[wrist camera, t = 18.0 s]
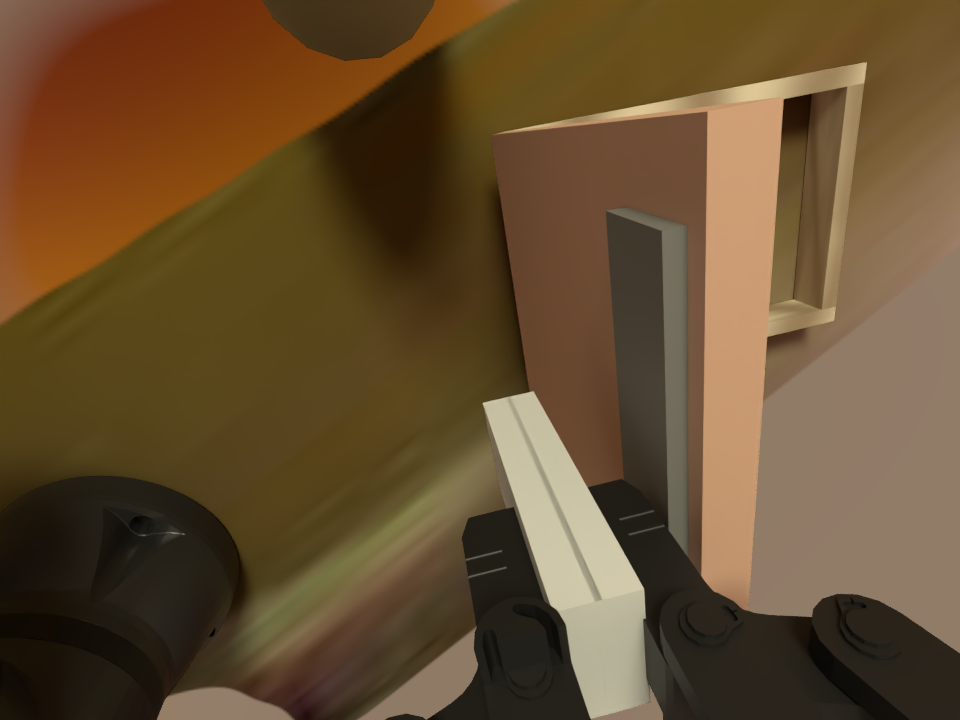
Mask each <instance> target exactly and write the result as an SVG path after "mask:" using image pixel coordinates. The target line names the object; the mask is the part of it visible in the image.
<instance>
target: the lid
mask: <svg viewBox="0 0 960 720" xmlns="http://www.w3.org/2000/svg"><path fill="white" fill-rule="evenodd" d="M783 101H784V97H778V98H770V99H762V100H754V101H746V102H738V103H730V104H722V105H714V106H706V107H699V108H691V109H683V110H675V111H667V112H659V113H651V114H643V115H635V116H627V117H619V118H611V119H603V120H595V121H587V122H580V123H572V124H564V125H556V126H548V127H540V128H532V129H524V130H516V131H509V132H504V133H499V134H493V135H491V140H492V146H493V153H494V160H495V166H496V173H497V180H498V186H499V193H500V199H501V206H502V213H503V219H504V226H505V233H506V239H507V246H508V252H509V259H510V266H511V272H512V279H513V286H514V292H515V299H516V305H517V312H518V319H519V325H520V332H521V339H522V345H523V352H524V358H525V365H526V372H527V378H528V385H529V392H533V391H534V393H535V395H536V397H537V398H538V400H539V402H540V404H541V406H542V407H543V409H544V411H545V413H546V415H547V416H548V418H549V420H550V422H551V423H552V425H553V427H554V429H555V431H556V432H557V434H558V436H559V438H560V440H561V441H562V443H563V445H564V447H565V448H566V450H567V452H568V454H569V456H570V457H571V459H572V461H573V463H574V465H575V466H576V468H577V470H578V472H579V473H580V475H581V477H582V479H583V481H584V482H585V484H586V486H587V487H590V486H595V485H599V484H603V483H607V482H611V481H615V480H619V479H623V480H624V481H626V482H627V483H629V484H630V485H632V486H634V487H635V488H637V489H638V490H640V491H641V492H642V493H643V495H644V496H645V497H646V499H647V500H648V502H649V503H650V504H651V506H652V507H653V509H654V512H655V513H657V514H658V516H659V517H660V519H661V520H662V521H663V523H664V526H665V528H666V527H667V528H668V530H669V531H670V533H671V534H672V535H673V537H674V538H675V540H676V541H677V542H678V544H679V545H680V547H681V548H682V550H683V551H684V552H685V554H686V555H687V557H688V558H689V559H690V561H691V562H692V564H693V565H694V566H695V568H696V569H697V571H698V572H699V573H700V575H701V576H702V578H703V579H704V581H705V582H706V583H707V584H708V586H709V587H710V588H711V589H712V590H713V591H714V592H717V593H719V594H721V595H723V596H725V597H727V598H729V599H731V600H732V601H734V602H735V603H736V604H737V605H738V606H739V607H740V608H741V609H744V610H747V611H748V606H749V592H750V577H751V563H752V549H753V534H754V519H755V505H756V491H757V476H758V462H759V447H760V432H761V418H762V404H763V390H764V375H765V361H766V347H767V332H768V318H769V303H770V289H771V274H772V260H773V246H774V231H775V217H776V202H777V188H778V174H779V159H780V145H781V130H782V116H783Z"/></svg>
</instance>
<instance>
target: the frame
mask: <svg viewBox="0 0 960 720" xmlns="http://www.w3.org/2000/svg"><path fill="white" fill-rule="evenodd" d="M866 64H867V62H866V63H860V64H855V65H849V66H844V67H838V68H833V69H827V70H822V71H817V72H812V73H806V74H801V75H796V76H791V77H786V78H781V79H775V80H770V81H765V82H760V83H755V84H749V85H744V86H739V87H734V88H729V89H724V90H718V91H713V92H708V93H703V94H698V95H692V96H687V97H682V98H677V99H672V100H666V101H661V102H656V103H651V104H646V105H641V106H635V107H630V108H625V109H620V110H615V111H609V112H604V113H599V114H594V115H589V116H584V117H578V118H573V119H568V120H563V121H558V122H552V123H547V124H542V125H537V126H532V127H526V128H521V129H516V130H524V129H532V128H540V127H548V126H556V125H564V124H572V123H580V122H587V121H595V120H603V119H611V118H619V117H627V116H635V115H643V114H651V113H659V112H667V111H675V110H683V109H691V108H699V107H706V106H714V105H722V104H730V103H738V102H746V101H754V100H762V99H770V98H778V97H784V99H786V98H791V97H797V96H802V95H807V94H812V97H811V108H810V119H809V131H808V142H807V153H806V164H805V175H804V186H803V197H802V209H801V220H800V231H799V242H798V253H797V264H796V275H795V287H794V298H793V300H789V301H785V302H781V303H776V304H772V305H769V318H768V332H767V337H769V336H773V335H777V334H782V333H786V332H790V331H794V330H798V329H802V328H806V327H810V326H815V325H819V324H823V323H827V322H831V321H834V316H835V308H836V300H837V292H838V284H839V277H840V269H841V261H842V253H843V245H844V237H845V229H846V222H847V214H848V206H849V198H850V190H851V182H852V174H853V167H854V159H855V151H856V143H857V135H858V127H859V119H860V111H861V104H862V96H863V88H864V80H865V72H866ZM516 130H511V131H516ZM506 132H509V131H506ZM501 133H504V132H501ZM498 134H499V133H498Z"/></svg>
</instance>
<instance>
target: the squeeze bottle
mask: <svg viewBox="0 0 960 720" xmlns="http://www.w3.org/2000/svg"><path fill="white" fill-rule="evenodd" d="M262 1H263V2H264V4H265V5H266V7H267V9H268V11H269V12H270V14H271V15H272V17H273V19H274V20H275V21H277V22H278V23H279V24H280V25H281V26H282V27H284V28H285V29H286V30H287V31H288V32H290V33H291V34H292V35H293V36H294V37H295V38H297V39H298V40H299V41H300V42H301V43H303V44H304V45H305V46H306V47H307V48H310V49H312V50H315V51H318V52H321V53H324V54H327V55H330V56H333V57H336V58H339V59H341V60H344V61H347V60H357V59H368V58H378V57H382V56H384V55H385V54H387V53H389V52H390V51H392V50H394V49H395V48H397V47H398V46H400V45H402V44H403V43H405V42H406V41H408V40H410V39H411V38H412V37H413V36H414V34H415V32H416V31H417V30H418V28H419V27H420V25H421V24H422V22H423V20H424V19H425V17H426V16H427V14H428V13H429V11H430V10H431V8H432V7H433V4H434V0H262Z"/></svg>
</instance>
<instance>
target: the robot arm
mask: <svg viewBox="0 0 960 720" xmlns="http://www.w3.org/2000/svg"><path fill="white" fill-rule="evenodd" d="M483 406H484V411H485V416H486V422H487V427H488V432H489V437H490V442H491V447H492V452H493V457H494V462H495V467H496V472H497V477H498V482H499V486H500V490H501V493H502V496H503V499H504V503H505V506H506V509H503V510H499V511H495V512H491V513H487V514H483V515H479V516H475V517H471V518H468V521H467V524H466V527H465V530H464V533H463V536H462V541H463V547H464V553H465V559H466V565H467V571H468V577H469V583H470V589H471V595H472V601H473V607H474V613H475V620H476V626H477V629H476V631H475V639H474V651H475V654H476V658H477V662H478V669H477V671H476V674H475V676H474V678H473V680H472V682H471V683H470V685H469V686H468V687H467V689H466V690H465V691H464V693H463V694H462V695H460V696H459V697H458V698H457V699H456V700H455V701H453V702H452V703H451V704H449V705H448V706H446V707H445V708H444V709H442V710H441V711H439V712H438V713H436V714H435V715H433V716H432V717H430V718H429V719H427V720H591V719H592V718H596V717H599V716H603V715H607V714H611V713H615V712H618V711H622V710H625V709H629V708H632V707H636V706H640V705H643V704H647V703H650V687H651V689H652V691H653V693H654V695H655V697H656V699H657V701H658V704H659V706H660V708H661V710H662V712H663V720H960V653H958V652H957V651H955V650H954V649H953V648H951V647H950V646H948V645H947V644H945V643H944V642H942V641H941V640H939V639H938V638H937V637H935V636H934V635H932V634H931V633H929V632H928V631H926V630H925V629H923V628H922V627H921V626H919V625H918V624H916V623H915V622H913V621H912V620H910V619H909V618H907V617H906V616H904V615H903V614H902V613H900V612H898V611H896V610H895V609H893V608H891V607H889V606H887V605H885V604H884V603H882V602H880V601H877V600H873V599H870V598H867V597H863V596H860V595H853V594H836V595H833V596H830V597H826V598H823V599H822V600H821V601H820V602H819V603H818V604H817V605H816V606H815V608H814V609H813V615H812V617H798V616H776V615H765V614H757V613H753V612H750V611H747V610H744V609H741V608H740V607H739V606H738V605H737V604H736V603H735V602H734V601H732V600H731V599H729V598H727V597H725V596H723V595H721V594H719V593H717V592H714V591H713V590H712V589H711V588H710V587H709V586H708V584H707V583H706V582H705V581H704V579H703V578H702V576H701V575H700V573H699V572H698V571H697V569H696V568H695V566H694V565H693V564H692V562H691V561H690V559H689V558H688V557H687V555H686V554H685V552H684V551H683V550H682V548H681V547H680V545H679V544H678V542H677V541H676V540H675V538H674V537H673V535H672V534H671V533H670V531H669V530H668V528H667V527H666V528H665V526H664V523H663V521H662V520H661V519H660V517H659V516H658V514H657V513H655V512H654V509H653V507H652V506H651V504H650V503H649V502H648V500H647V499H646V497H645V496H644V495H643V493H642V492H641V491H640V490H638V489H637V488H635V487H634V486H632V485H630V484H629V483H627V482H626V481H624V480H623V479H619V480H615V481H611V482H607V483H603V484H599V485H595V486H590V487H587V486H586V484H585V482H584V481H583V479H582V477H581V475H580V473H579V472H578V470H577V468H576V466H575V465H574V463H573V461H572V459H571V457H570V456H569V454H568V452H567V450H566V448H565V447H564V445H563V443H562V441H561V440H560V438H559V436H558V434H557V432H556V431H555V429H554V427H553V425H552V423H551V422H550V420H549V418H548V416H547V415H546V413H545V411H544V409H543V407H542V406H541V404H540V402H539V400H538V398H537V397H536V395H535V393H534V391H533V392H528V393H524V394H520V395H515V396H511V397H506V398H502V399H498V400H493V401H489V402H485V403H483ZM239 573H240V566H239V559H238V554H237V551H236V548H235V546H234V543H233V541H232V539H231V538H230V536H229V534H228V533H227V531H226V530H225V528H224V527H223V526H222V525H221V523H220V522H219V521H218V520H217V519H216V518H215V517H214V516H213V515H212V514H211V513H209V512H208V511H207V510H206V509H204V508H203V507H202V506H200V505H199V504H197V503H196V502H194V501H193V500H191V499H189V498H188V497H186V496H184V495H182V494H180V493H178V492H176V491H173V490H171V489H168V488H166V487H163V486H160V485H157V484H154V483H150V482H146V481H142V480H137V479H132V478H125V477H114V476H88V477H78V478H71V479H66V480H61V481H57V482H54V483H50V484H47V485H44V486H42V487H39V488H37V489H35V490H32V491H30V492H28V493H27V494H25V495H23V496H21V497H20V498H18V499H17V500H15V501H14V502H13V503H11V504H10V505H9V506H8V507H7V508H6V509H4V510H3V511H2V512H1V513H0V720H157V717H158V715H159V712H160V710H161V707H162V705H163V702H164V700H165V699H166V697H167V696H168V695H169V693H170V692H171V691H172V690H173V688H174V687H175V686H176V684H177V683H178V682H179V680H180V679H181V678H182V676H183V675H184V673H185V672H186V670H187V669H188V667H189V666H190V664H191V662H192V661H193V659H194V658H195V656H196V655H197V654H198V653H199V652H200V651H201V650H202V649H203V648H204V647H206V645H207V644H208V643H209V642H210V641H211V640H212V639H213V637H214V636H215V635H216V634H217V632H218V631H219V629H220V628H221V626H222V624H223V623H224V621H225V619H226V617H227V615H228V612H229V610H230V607H231V604H232V601H233V598H234V595H235V592H236V589H237V586H238V581H239ZM649 684H650V687H649ZM386 720H425V719H424V718H423V717H419V716H415V715H410V714H403V715H398V716H394V717H389V718H387V719H386Z"/></svg>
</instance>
